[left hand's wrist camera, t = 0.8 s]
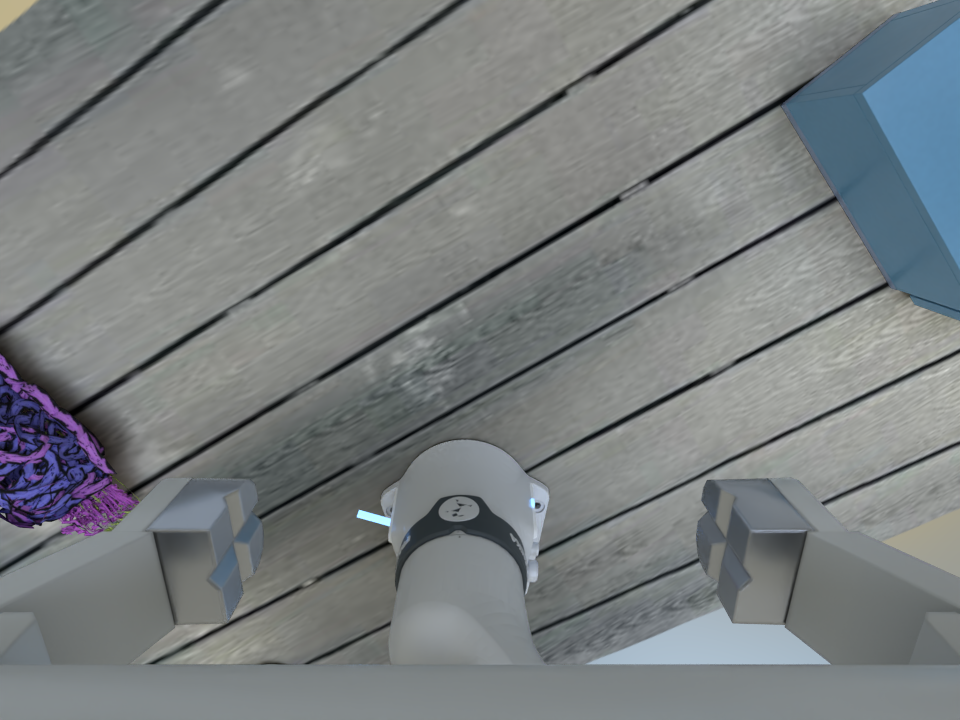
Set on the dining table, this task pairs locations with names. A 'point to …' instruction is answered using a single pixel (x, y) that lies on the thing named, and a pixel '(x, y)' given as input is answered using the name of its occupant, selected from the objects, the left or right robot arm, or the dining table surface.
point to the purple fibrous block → (51, 462)
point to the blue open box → (895, 145)
